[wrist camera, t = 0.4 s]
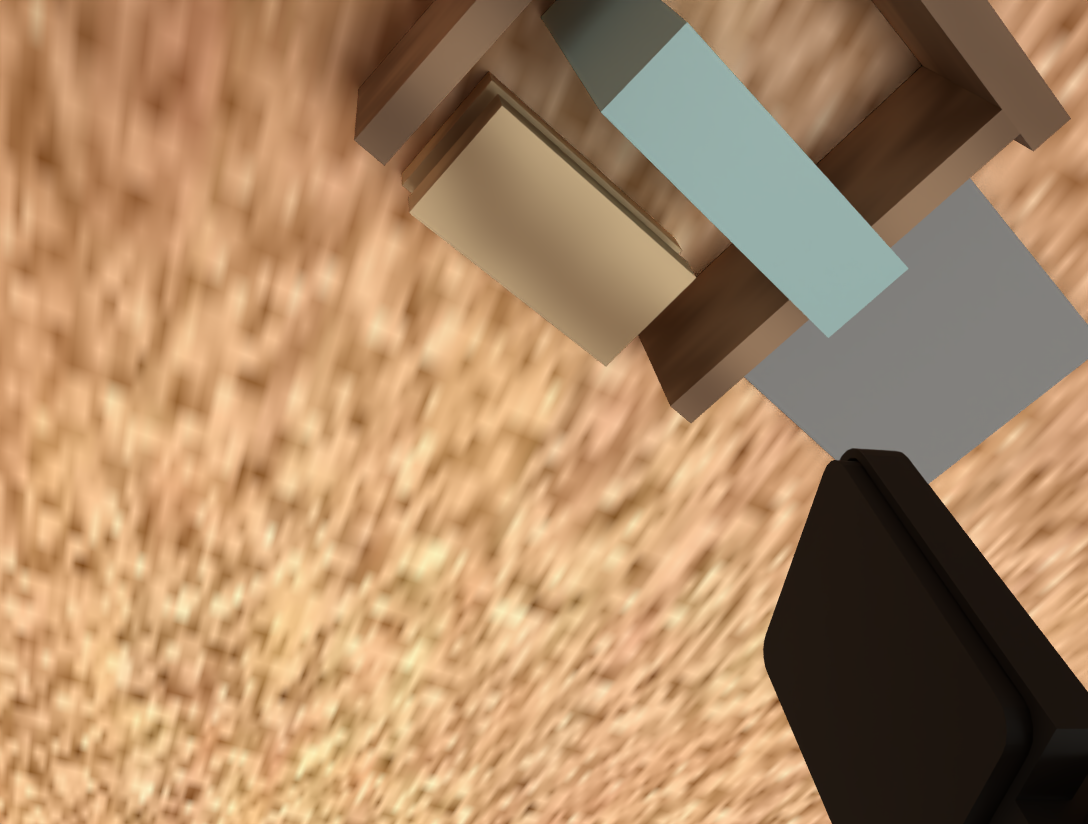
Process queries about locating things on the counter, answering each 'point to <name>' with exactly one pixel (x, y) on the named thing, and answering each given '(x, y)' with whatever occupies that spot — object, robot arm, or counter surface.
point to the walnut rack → (852, 166)
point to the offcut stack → (544, 222)
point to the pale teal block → (725, 153)
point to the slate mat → (933, 346)
